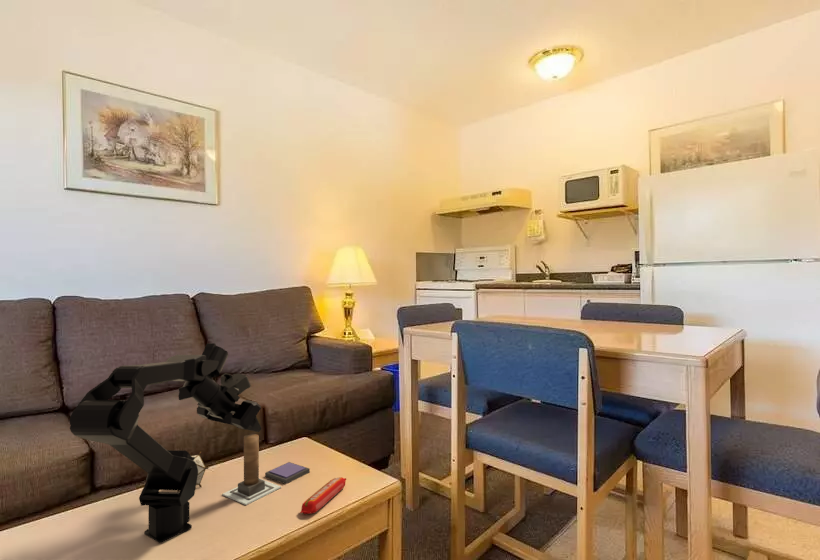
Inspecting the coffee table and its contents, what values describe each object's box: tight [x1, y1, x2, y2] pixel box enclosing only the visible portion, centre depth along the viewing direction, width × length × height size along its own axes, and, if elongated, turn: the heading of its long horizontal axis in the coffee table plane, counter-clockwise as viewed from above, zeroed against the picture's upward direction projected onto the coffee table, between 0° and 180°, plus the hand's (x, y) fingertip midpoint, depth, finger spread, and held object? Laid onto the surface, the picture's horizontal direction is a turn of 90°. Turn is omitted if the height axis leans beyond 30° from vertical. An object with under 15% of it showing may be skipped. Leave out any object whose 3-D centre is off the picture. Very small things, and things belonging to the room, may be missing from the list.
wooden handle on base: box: [237, 433, 266, 497], centre depth 103 cm, size 4×4×13 cm
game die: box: [176, 451, 210, 492], centre depth 106 cm, size 9×8×10 cm
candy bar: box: [299, 477, 347, 515], centre depth 99 cm, size 16×4×3 cm, turn 160°
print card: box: [222, 478, 282, 506], centre depth 104 cm, size 10×9×1 cm
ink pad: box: [264, 461, 311, 485], centre depth 113 cm, size 8×8×1 cm
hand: (248, 427), depth 110 cm, fingers open, 9 cm apart
